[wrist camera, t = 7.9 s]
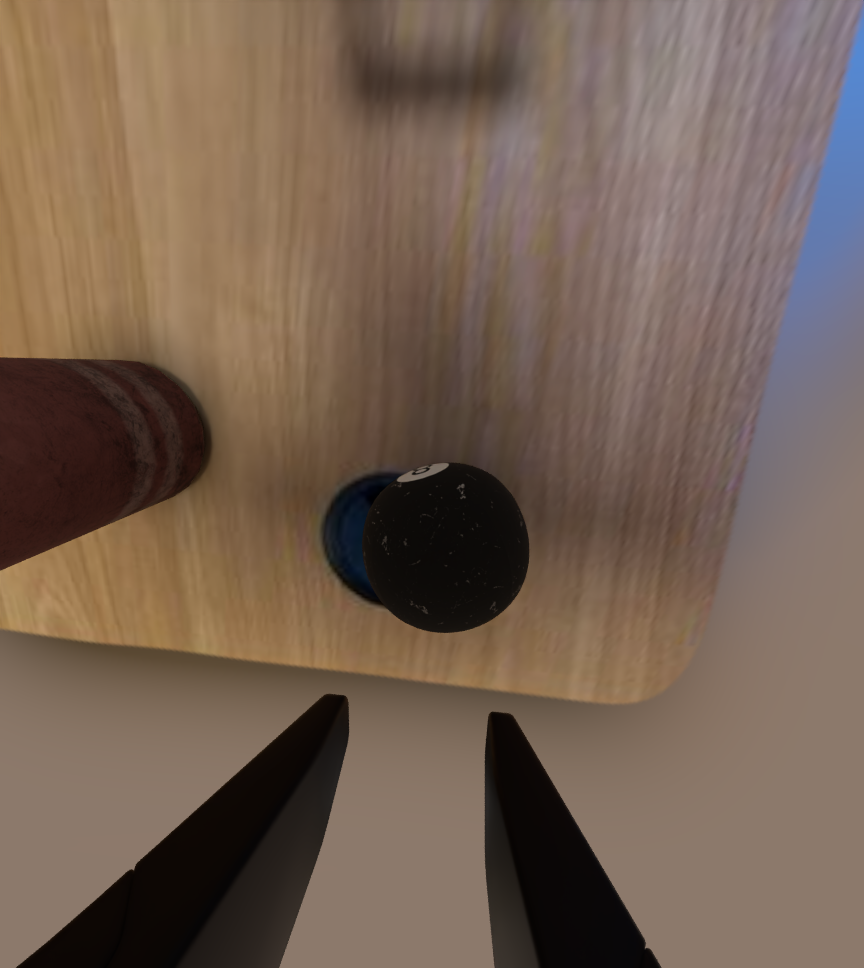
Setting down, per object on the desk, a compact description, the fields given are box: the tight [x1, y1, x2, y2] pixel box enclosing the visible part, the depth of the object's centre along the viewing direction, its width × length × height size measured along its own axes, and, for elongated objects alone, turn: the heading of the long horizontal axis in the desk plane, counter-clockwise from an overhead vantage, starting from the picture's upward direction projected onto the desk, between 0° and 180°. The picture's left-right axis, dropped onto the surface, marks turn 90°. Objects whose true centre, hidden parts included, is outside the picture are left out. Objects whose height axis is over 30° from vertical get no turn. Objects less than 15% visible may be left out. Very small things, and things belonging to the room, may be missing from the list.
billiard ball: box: [362, 463, 529, 633], centre depth 15 cm, size 6×6×6 cm
